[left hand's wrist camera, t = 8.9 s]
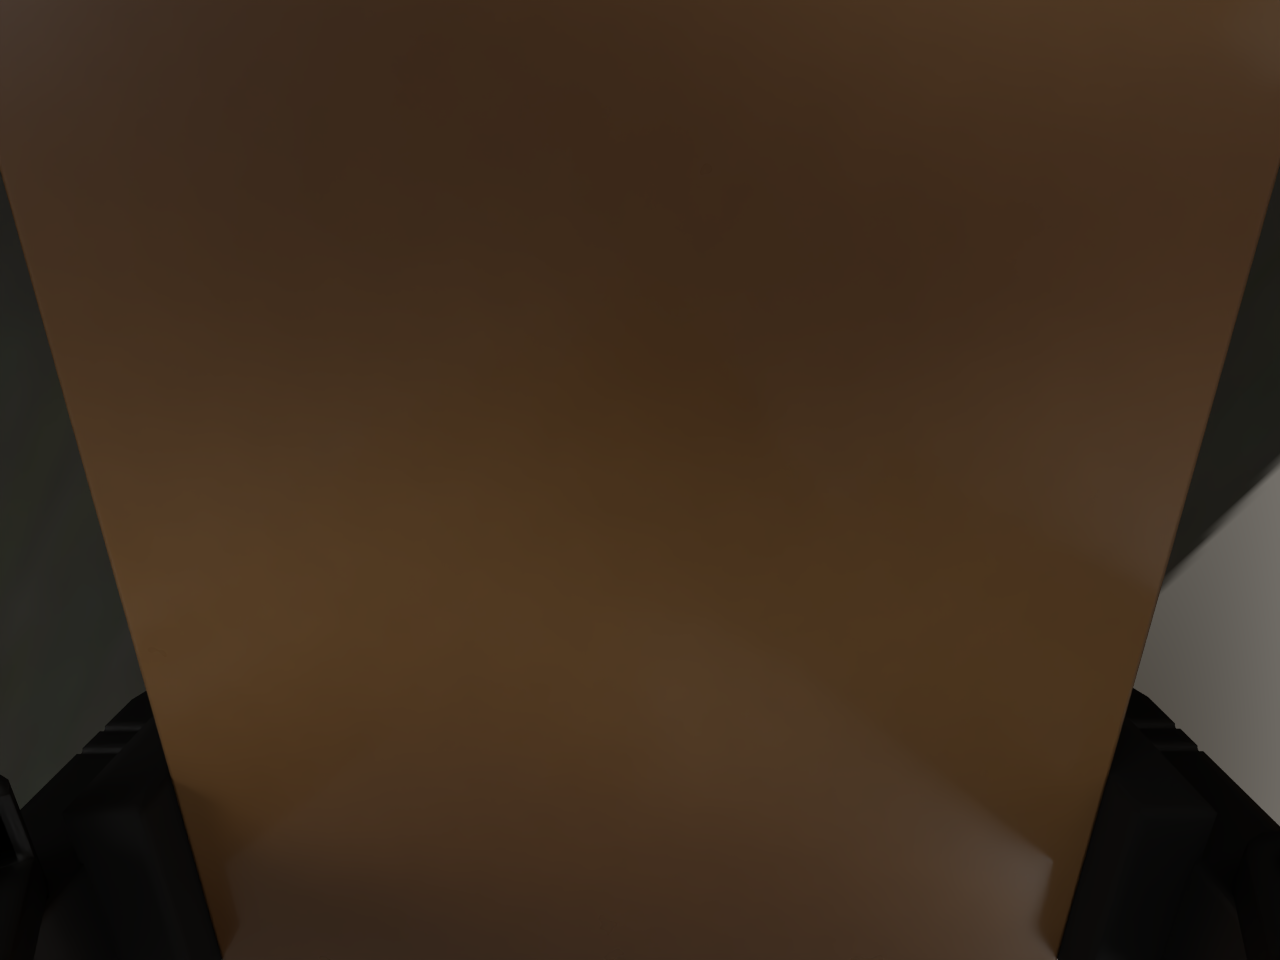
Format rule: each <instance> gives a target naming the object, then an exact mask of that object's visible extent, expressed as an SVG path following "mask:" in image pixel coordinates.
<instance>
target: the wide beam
mask: <svg viewBox="0 0 1280 960" xmlns="http://www.w3.org/2000/svg"><path fill="white" fill-rule="evenodd" d="M1279 165H1280V0H0V171H1V175H2V178H3V182H4V185H5V189H6V193H7V196H8V200H9V203H10V207H11V210H12V214H13V217H14V221H15V225H16V228H17V232H18V235H19V239H20V242H21V246H22V249H23V253H24V257H25V260H26V264H27V267H28V271H29V274H30V278H31V281H32V285H33V289H34V292H35V296H36V299H37V303H38V306H39V310H40V313H41V317H42V321H43V324H44V328H45V331H46V335H47V338H48V342H49V345H50V349H51V353H52V356H53V360H54V363H55V367H56V370H57V374H58V377H59V381H60V385H61V388H62V392H63V395H64V399H65V402H66V406H67V410H68V413H69V417H70V420H71V424H72V427H73V431H74V434H75V438H76V442H77V445H78V449H79V452H80V456H81V459H82V463H83V466H84V470H85V474H86V477H87V481H88V484H89V488H90V491H91V495H92V498H93V502H94V506H95V509H96V513H97V516H98V520H99V523H100V527H101V530H102V534H103V538H104V541H105V545H106V548H107V552H108V555H109V559H110V562H111V566H112V570H113V573H114V577H115V580H116V584H117V587H118V591H119V594H120V598H121V602H122V605H123V609H124V612H125V616H126V619H127V623H128V626H129V630H130V634H131V637H132V641H133V644H134V648H135V651H136V655H137V658H138V662H139V666H140V669H141V673H142V676H143V680H144V683H145V687H146V691H147V694H148V698H149V701H150V705H151V708H152V712H153V715H154V719H155V723H156V726H157V730H158V733H159V737H160V740H161V744H162V747H163V751H164V755H165V758H166V762H167V765H168V769H169V772H170V776H171V779H172V783H173V787H174V790H175V794H176V797H177V801H178V804H179V808H180V811H181V815H182V819H183V822H184V826H185V829H186V833H187V836H188V840H189V843H190V847H191V851H192V854H193V858H194V861H195V865H196V868H197V872H198V875H199V879H200V883H201V886H202V890H203V893H204V897H205V900H206V904H207V907H208V911H209V915H210V918H211V922H212V925H213V929H214V932H215V936H216V940H217V943H218V947H219V950H220V954H221V957H222V960H1057V957H1058V953H1059V949H1060V946H1061V942H1062V939H1063V935H1064V932H1065V928H1066V924H1067V921H1068V917H1069V914H1070V910H1071V907H1072V903H1073V900H1074V896H1075V892H1076V889H1077V885H1078V882H1079V878H1080V875H1081V871H1082V867H1083V864H1084V860H1085V857H1086V853H1087V850H1088V846H1089V842H1090V839H1091V835H1092V832H1093V828H1094V825H1095V821H1096V818H1097V814H1098V810H1099V807H1100V803H1101V800H1102V796H1103V793H1104V789H1105V785H1106V782H1107V778H1108V775H1109V771H1110V768H1111V764H1112V761H1113V757H1114V753H1115V750H1116V746H1117V743H1118V739H1119V736H1120V732H1121V728H1122V725H1123V721H1124V718H1125V714H1126V711H1127V707H1128V703H1129V700H1130V696H1131V693H1132V689H1133V686H1134V682H1135V679H1136V675H1137V671H1138V668H1139V664H1140V661H1141V657H1142V654H1143V650H1144V646H1145V643H1146V639H1147V636H1148V632H1149V628H1150V625H1151V621H1152V618H1153V614H1154V611H1155V607H1156V604H1157V600H1158V597H1159V593H1160V589H1161V586H1162V582H1163V579H1164V575H1165V572H1166V568H1167V564H1168V561H1169V557H1170V554H1171V550H1172V547H1173V543H1174V540H1175V536H1176V532H1177V529H1178V525H1179V522H1180V518H1181V515H1182V511H1183V507H1184V504H1185V500H1186V497H1187V493H1188V490H1189V486H1190V482H1191V479H1192V475H1193V472H1194V468H1195V465H1196V461H1197V458H1198V454H1199V450H1200V447H1201V443H1202V440H1203V436H1204V433H1205V429H1206V425H1207V422H1208V418H1209V415H1210V411H1211V408H1212V404H1213V401H1214V397H1215V393H1216V390H1217V386H1218V383H1219V379H1220V376H1221V372H1222V368H1223V365H1224V361H1225V358H1226V354H1227V351H1228V347H1229V343H1230V340H1231V336H1232V333H1233V329H1234V326H1235V322H1236V319H1237V315H1238V311H1239V308H1240V304H1241V301H1242V297H1243V294H1244V290H1245V286H1246V283H1247V279H1248V276H1249V272H1250V269H1251V265H1252V262H1253V258H1254V254H1255V251H1256V247H1257V244H1258V240H1259V237H1260V233H1261V229H1262V226H1263V222H1264V219H1265V215H1266V212H1267V208H1268V204H1269V201H1270V197H1271V194H1272V190H1273V187H1274V183H1275V180H1276V176H1277V172H1278V169H1279Z"/></svg>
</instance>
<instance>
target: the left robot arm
mask: <svg viewBox="0 0 1280 960" xmlns="http://www.w3.org/2000/svg"><path fill="white" fill-rule="evenodd" d="M221 959H222V957H221V954H220V950H219V947H218V943H217V940H216V936H215V932H214V929H213V925H212V922H211V918H210V915H209V911H208V907H207V904H206V900H205V897H204V893H203V890H202V886H201V883H200V879H199V875H198V872H197V868H196V865H195V861H194V858H193V854H192V851H191V847H190V843H189V840H188V836H187V833H186V829H185V826H184V822H183V819H182V815H181V811H180V808H179V804H178V801H177V797H176V794H175V790H174V787H173V783H172V779H171V776H170V772H169V769H168V765H167V762H166V758H165V755H164V751H163V747H162V744H161V740H160V737H159V733H158V730H157V726H156V723H155V719H154V715H153V712H152V708H151V705H150V701H149V698H148V694H147V691H145V692H144V693H142V694H140V695H139V696H137V697H135V698H134V699H132V700H131V701H130V702H129V703H128V704H127V705H126V706H125V707H124V708H123V709H122V710H121V711H120V712H119V713H118V714H117V715H116V716H115V717H114V718H113V719H112V720H111V721H110V722H109V723H108V724H107V725H106V726H105V730H104V731H100V732H99V733H98V734H97V735H96V736H95V737H94V738H93V739H92V740H91V741H90V742H89V743H88V744H87V745H86V746H85V747H83V751H82V754H76V755H75V756H74V757H73V758H72V759H71V760H70V761H69V762H68V763H67V764H66V765H65V766H64V767H63V768H62V769H61V770H60V771H59V772H58V773H57V774H56V775H55V776H54V777H53V778H52V779H51V780H50V781H49V782H48V783H47V784H46V785H45V786H44V787H43V788H42V789H41V790H40V791H39V792H38V793H37V794H36V795H35V796H34V797H33V798H32V799H31V800H30V801H29V802H28V803H27V804H26V805H25V806H24V807H23V808H22V809H21V810H20V809H19V806H18V804H17V801H16V799H15V796H14V793H13V791H12V788H11V785H10V783H9V780H8V779H6V778H5V777H3V776H2V775H0V960H221ZM1057 959H1058V960H1280V826H1279V825H1278V824H1277V823H1276V822H1275V821H1274V820H1273V819H1272V818H1271V817H1270V816H1269V815H1268V814H1267V813H1266V812H1265V811H1264V810H1262V809H1261V808H1260V807H1259V806H1258V805H1257V804H1256V803H1255V802H1254V801H1253V800H1252V799H1251V798H1250V797H1249V796H1248V795H1247V794H1246V793H1245V792H1244V791H1243V790H1242V789H1241V788H1240V787H1239V786H1238V785H1237V784H1236V783H1235V782H1234V781H1233V780H1232V779H1231V778H1230V777H1229V776H1228V775H1227V774H1226V773H1225V772H1224V771H1223V770H1222V769H1221V768H1220V767H1219V766H1218V765H1217V764H1216V763H1215V762H1214V761H1213V760H1212V759H1211V758H1210V757H1209V756H1208V755H1206V754H1205V753H1204V752H1203V751H1198V748H1197V745H1196V744H1195V743H1194V742H1193V741H1192V740H1191V739H1190V738H1189V737H1188V736H1187V735H1186V734H1185V733H1184V732H1183V731H1182V730H1181V729H1176V728H1175V723H1174V722H1173V721H1172V720H1171V719H1170V718H1169V717H1168V716H1167V715H1166V714H1165V713H1164V712H1163V711H1162V710H1161V709H1160V708H1159V707H1158V706H1157V705H1156V704H1155V703H1154V702H1152V700H1150V699H1149V698H1148V697H1147V696H1145V695H1144V694H1142V693H1140V692H1139V691H1137V690H1136V689H1134V688H1133V689H1132V693H1131V696H1130V700H1129V703H1128V707H1127V711H1126V714H1125V718H1124V721H1123V725H1122V728H1121V732H1120V736H1119V739H1118V743H1117V746H1116V750H1115V753H1114V757H1113V761H1112V764H1111V768H1110V771H1109V775H1108V778H1107V782H1106V785H1105V789H1104V793H1103V796H1102V800H1101V803H1100V807H1099V810H1098V814H1097V818H1096V821H1095V825H1094V828H1093V832H1092V835H1091V839H1090V842H1089V846H1088V850H1087V853H1086V857H1085V860H1084V864H1083V867H1082V871H1081V875H1080V878H1079V882H1078V885H1077V889H1076V892H1075V896H1074V900H1073V903H1072V907H1071V910H1070V914H1069V917H1068V921H1067V924H1066V928H1065V932H1064V935H1063V939H1062V942H1061V946H1060V949H1059V953H1058V957H1057Z"/></svg>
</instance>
